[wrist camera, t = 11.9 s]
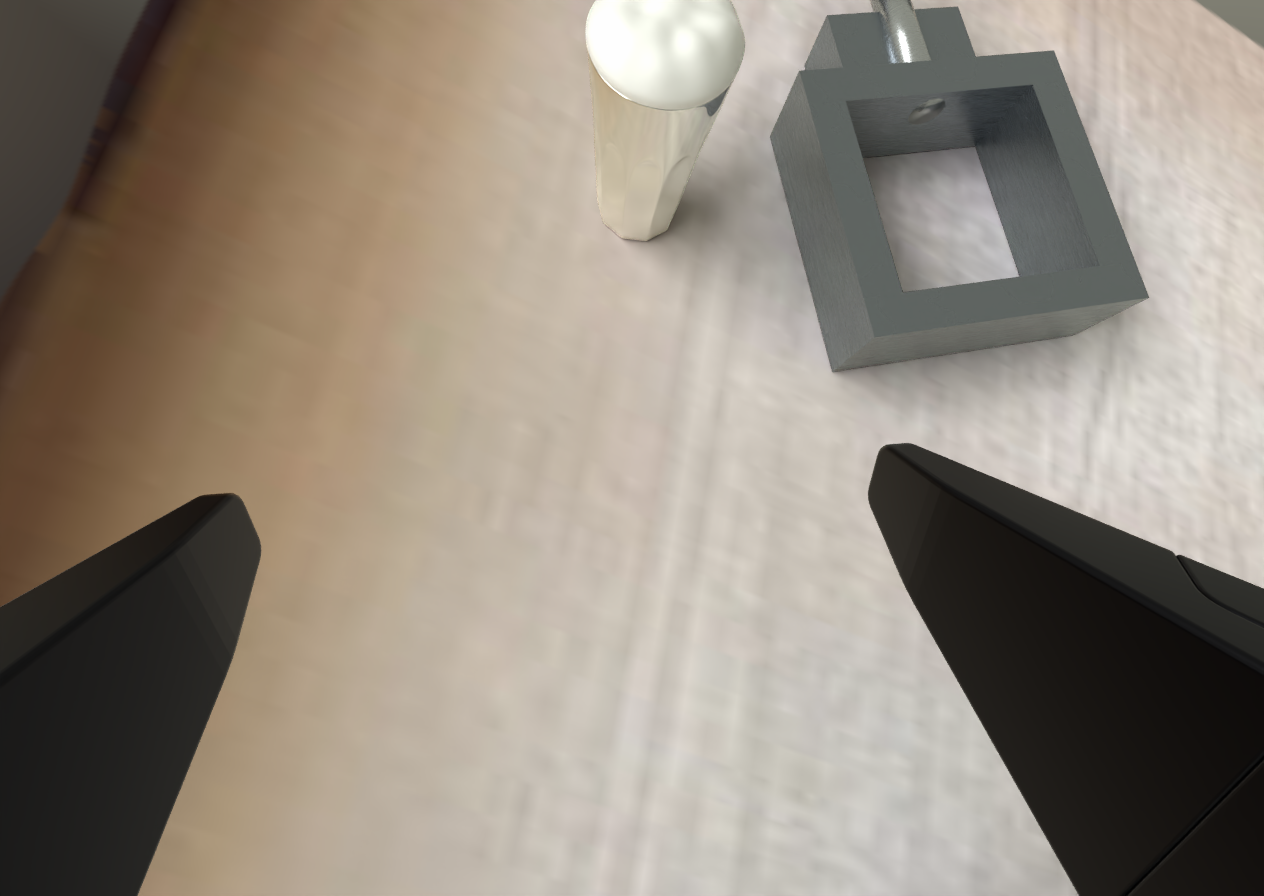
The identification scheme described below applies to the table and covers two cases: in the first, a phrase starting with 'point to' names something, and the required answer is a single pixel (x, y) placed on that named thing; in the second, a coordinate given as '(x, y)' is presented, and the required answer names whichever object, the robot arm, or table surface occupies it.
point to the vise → (936, 120)
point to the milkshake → (655, 101)
